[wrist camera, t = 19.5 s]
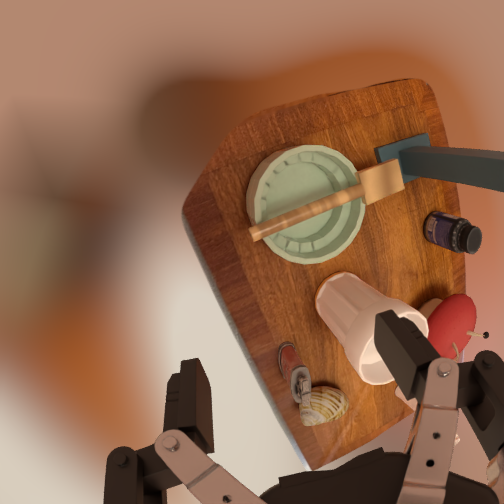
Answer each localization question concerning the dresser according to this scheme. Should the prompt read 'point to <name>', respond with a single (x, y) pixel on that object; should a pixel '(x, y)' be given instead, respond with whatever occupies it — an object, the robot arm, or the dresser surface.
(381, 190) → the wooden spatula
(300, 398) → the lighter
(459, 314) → the mushroom
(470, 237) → the pill bottle
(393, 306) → the cup
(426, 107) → the dresser surface
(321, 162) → the bowl
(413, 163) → the headphone stand
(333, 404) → the seashell
